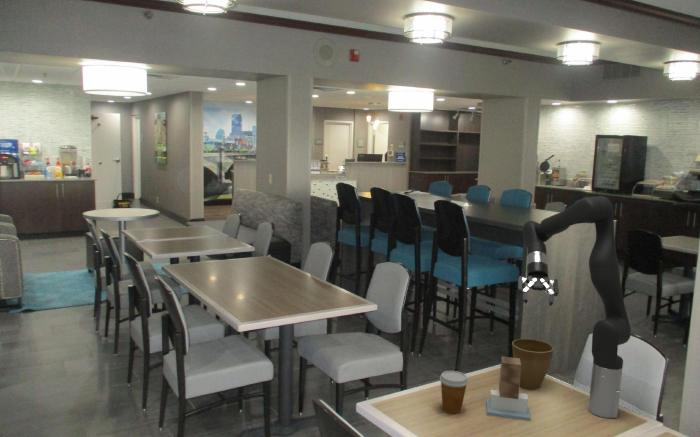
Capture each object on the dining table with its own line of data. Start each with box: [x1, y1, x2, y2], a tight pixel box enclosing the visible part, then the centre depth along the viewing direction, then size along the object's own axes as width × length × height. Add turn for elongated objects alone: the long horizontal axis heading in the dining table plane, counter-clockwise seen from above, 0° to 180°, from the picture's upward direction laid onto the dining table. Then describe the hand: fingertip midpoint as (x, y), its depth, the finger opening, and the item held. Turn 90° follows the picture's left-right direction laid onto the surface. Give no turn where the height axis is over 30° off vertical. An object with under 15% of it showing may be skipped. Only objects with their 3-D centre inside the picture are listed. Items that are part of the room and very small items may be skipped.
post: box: [498, 355, 521, 399], centre depth 188 cm, size 6×6×12 cm
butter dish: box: [485, 389, 532, 421], centre depth 189 cm, size 14×10×6 cm
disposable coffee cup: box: [439, 370, 469, 414], centre depth 188 cm, size 10×10×12 cm
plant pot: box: [511, 338, 555, 390], centre depth 210 cm, size 15×15×16 cm
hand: (538, 303), depth 201 cm, fingers open, 8 cm apart
